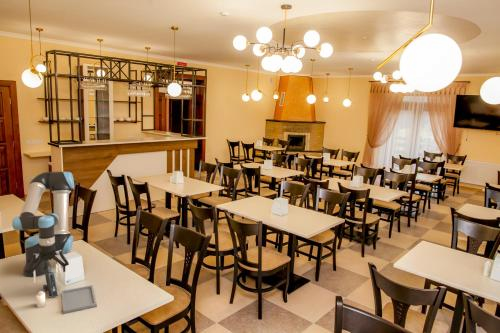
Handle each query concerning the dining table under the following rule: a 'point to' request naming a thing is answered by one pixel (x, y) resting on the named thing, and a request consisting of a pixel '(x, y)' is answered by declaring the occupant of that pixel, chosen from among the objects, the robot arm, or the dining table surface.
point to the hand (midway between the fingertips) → (49, 279)
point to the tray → (78, 299)
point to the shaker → (40, 299)
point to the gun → (50, 283)
